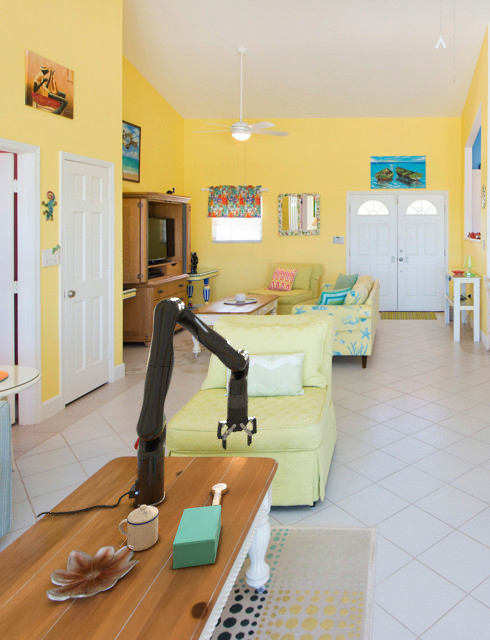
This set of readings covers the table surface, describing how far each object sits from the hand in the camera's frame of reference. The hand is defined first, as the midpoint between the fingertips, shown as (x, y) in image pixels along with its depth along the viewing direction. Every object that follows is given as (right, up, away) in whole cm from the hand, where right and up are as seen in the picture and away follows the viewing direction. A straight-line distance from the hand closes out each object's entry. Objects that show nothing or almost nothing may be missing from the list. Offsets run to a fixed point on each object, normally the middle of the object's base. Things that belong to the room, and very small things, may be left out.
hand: (236, 447), depth 174 cm
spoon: (-6, -19, -3) cm, 20 cm away
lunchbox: (-3, -19, -29) cm, 34 cm away
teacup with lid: (-23, -19, -27) cm, 40 cm away
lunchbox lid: (-3, -12, -29) cm, 31 cm away
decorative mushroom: (-45, -18, +21) cm, 53 cm away
